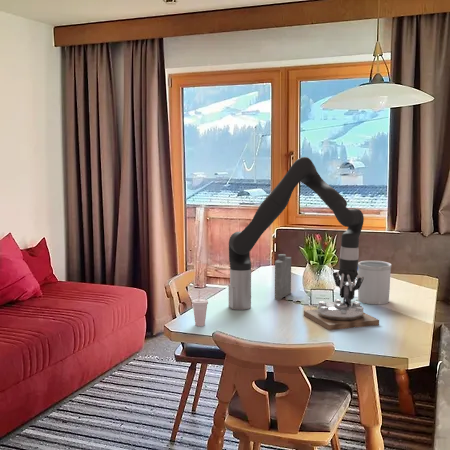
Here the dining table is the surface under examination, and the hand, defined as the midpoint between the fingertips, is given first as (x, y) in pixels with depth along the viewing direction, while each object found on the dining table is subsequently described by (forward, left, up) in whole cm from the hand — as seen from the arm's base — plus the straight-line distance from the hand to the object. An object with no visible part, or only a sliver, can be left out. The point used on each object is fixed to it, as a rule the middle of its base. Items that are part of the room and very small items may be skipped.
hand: (346, 298), depth 239 cm
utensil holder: (+25, +19, -8) cm, 32 cm away
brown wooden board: (-5, -4, -8) cm, 10 cm away
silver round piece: (-5, -4, -5) cm, 9 cm away
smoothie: (-61, +7, -8) cm, 62 cm away
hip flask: (-11, +41, -8) cm, 43 cm away
